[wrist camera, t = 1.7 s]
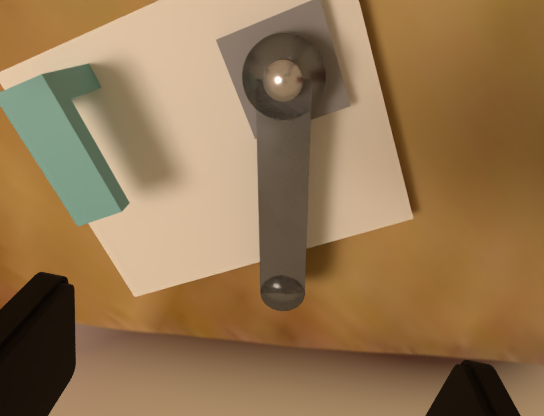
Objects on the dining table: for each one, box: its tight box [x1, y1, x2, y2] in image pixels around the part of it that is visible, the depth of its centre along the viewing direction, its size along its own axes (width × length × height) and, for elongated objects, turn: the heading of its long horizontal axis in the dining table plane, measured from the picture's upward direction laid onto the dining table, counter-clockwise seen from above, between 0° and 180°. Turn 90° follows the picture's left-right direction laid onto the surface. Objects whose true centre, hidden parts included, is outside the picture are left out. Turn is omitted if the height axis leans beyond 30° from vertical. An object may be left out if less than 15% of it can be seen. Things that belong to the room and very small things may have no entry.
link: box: [242, 32, 326, 311], centre depth 24 cm, size 18×4×3 cm, turn 0°
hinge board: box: [0, 0, 413, 297], centre depth 24 cm, size 22×18×6 cm
